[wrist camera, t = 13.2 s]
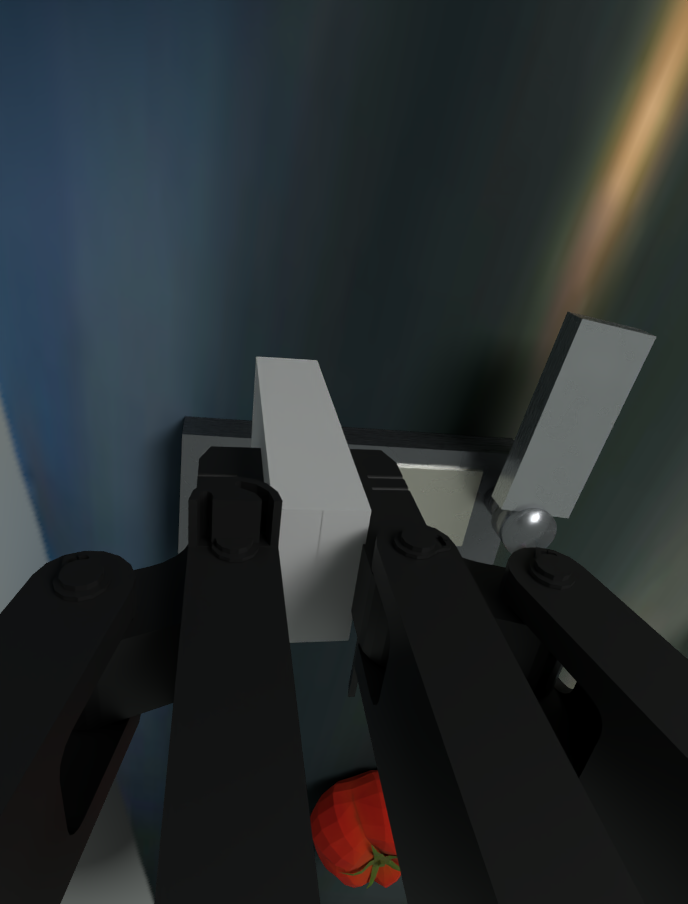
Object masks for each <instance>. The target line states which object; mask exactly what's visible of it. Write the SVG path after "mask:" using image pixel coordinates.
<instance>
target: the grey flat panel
mask: <svg viewBox="0 0 688 904" xmlns="http://www.w3.org/2000/svg"><path fill="white" fill-rule="evenodd" d="M655 338H656V336H654V335H652V334H649V333H647V332H645V331H643V330H640V329H637V328H633V327H629V326H625V325H621V324H617V323H613V322H609V321H605V320H601V319H596V318H592V317H588V316H584V315H580V314H576V313H572V312H567V315H566V317H565V319H564V322H563V324H562V327H561V329H560V331H559V334H558V336H557V339H556V341H555V344H554V346H553V348H552V351H551V353H550V356H549V358H548V361H547V363H546V365H545V368H544V370H543V373H542V375H541V377H540V380H539V382H538V385H537V387H536V390H535V392H534V394H533V397H532V399H531V402H530V404H529V407H528V409H527V411H526V414H525V416H524V419H523V421H522V423H521V426H520V428H519V431H518V433H517V436H516V438H515V440H514V443H513V445H512V448H511V450H510V453H509V455H508V457H507V460H506V462H505V465H504V467H503V469H502V472H501V474H500V477H499V479H498V482H497V484H496V486H495V489H494V491H493V494H492V497H493V499H494V500H495V501H496V503H497V504H498V505H497V507H496V508H495V510H494V512H493V514H492V518H491V524H492V528H493V529H494V531H495V532H496V534H497V535H498V537H499V538H500V540H501V541H502V543H503V544H504V545H505V547H506V548H507V550H508V551H509V552H510V553H511V554H512V553H513V552H514V551H517V550H519V549H522V548H528V547H540V548H545V549H546V548H547V547H548V546H549V545H550V544H551V542H552V541H553V539H554V537H555V535H556V530H557V526H556V522H555V520H554V518H553V517H552V516H555V517H563V518H569V516H570V514H571V512H572V510H573V508H574V505H575V503H576V501H577V499H578V497H579V495H580V493H581V491H582V489H583V487H584V485H585V483H586V481H587V479H588V477H589V475H590V472H591V470H592V468H593V466H594V464H595V462H596V460H597V458H598V456H599V454H600V452H601V450H602V448H603V446H604V444H605V442H606V440H607V437H608V435H609V433H610V431H611V429H612V427H613V425H614V423H615V421H616V419H617V417H618V415H619V413H620V411H621V409H622V407H623V404H624V402H625V400H626V398H627V396H628V394H629V392H630V390H631V388H632V386H633V384H634V382H635V380H636V378H637V376H638V374H639V371H640V369H641V367H642V365H643V363H644V361H645V359H646V357H647V355H648V353H649V351H650V349H651V347H652V345H653V343H654V341H655Z"/></svg>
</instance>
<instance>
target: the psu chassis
mask: <svg viewBox="0 0 688 904" xmlns="http://www.w3.org/2000/svg"><path fill="white" fill-rule="evenodd" d="M341 428H342V431H343V433H344V436H345V439H346V442H347V444H348V447H349V449H368V450H382V451H383V452H384V453H385V454H386V455H388V456H389V457H390V458H391V459H393V460H394V461H395V462H396V463H397V465H398V467H399V469H400V471H401V473H402V476H403V479H404V480H405V482H406V484H407V486H408V490H409V491H410V492H411V494H412V496H413V498H414V500H415V502H416V504H417V506H418V508H419V511H420V513H421V515H422V517H423V519H424V521H425V523H426V525H428V526H430V527H433V528H436V529H438V530H439V531H441V532H442V533H444V534H445V535H447V536H448V537H449V538H450V539H451V540H452V541H453V543H454V544H455V545H456V547H457V548H458V550H459V552H460V554H461V556H462V557H463V558H466V559H469V560H473V561H476V562H481V563H485V564H490V565H493V563H494V560H495V557H496V554H497V550H498V547H499V544H500V541H501V540H500V538H499V537H498V535H497V534H496V532H495V531H494V529H493V528H492V524H491V518H492V514H493V512H494V510H495V508H496V507H497V505H498V504H497V503H496V501H495V500H494V499H493V497H492V494H493V491H494V489H495V486H496V484H497V482H498V479H499V477H500V474H501V472H502V469H503V467H504V465H505V462H506V460H507V457H508V455H509V453H510V450H511V448H512V445H513V443H514V440H513V439H512V438H498V437H483V436H468V435H453V434H438V433H423V432H409V431H394V430H379V429H364V428H349V427H341ZM251 438H252V421H245V420H230V419H215V418H200V417H185V420H184V426H183V433H182V456H181V484H180V513H179V542H178V554H179V553H180V552H182V551H183V550H184V549H185V548H186V546H187V545H188V500H189V497H190V495H191V493H192V491H193V490H194V489H195V488H197V476H198V466H199V458H200V457H201V456H202V455H203V454H204V453H205V452H206V451H207V450H208V449H209V448H210V447H211V446H219V447H250V448H251Z"/></svg>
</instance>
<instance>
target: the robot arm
mask: <svg viewBox="0 0 688 904" xmlns="http://www.w3.org/2000/svg"><path fill="white" fill-rule="evenodd" d="M352 618H353V621H354V625H355V629H356V633H357V637H358V638H357V643H356V649H355V654H354V659H353V665H352V670H351V675H350V681H349V689H348V697H355V692H356V687H357V683H358V684H359V689H360V693H361V697H362V702H363V706H364V711H365V715H366V720H367V724H368V729H369V733H370V738H371V742H372V747H373V751H374V756H375V760H376V764H377V769H378V773H379V778H380V782H381V787H382V791H383V796H384V800H385V805H386V809H387V814H388V818H389V822H390V827H391V831H392V836H393V840H394V845H395V849H396V854H397V858H398V863H399V867H400V872H401V876H402V881H403V885H404V889H405V894H406V898H407V903H408V904H688V659H687V658H686V657H684V656H683V655H682V654H681V653H680V652H679V651H678V650H676V649H675V648H674V647H673V646H672V645H671V644H670V643H669V642H667V641H666V640H665V639H664V638H663V637H662V636H661V635H660V634H658V633H657V632H656V631H655V630H654V629H653V628H652V627H651V626H649V625H648V624H647V623H646V622H645V621H644V620H643V619H642V618H640V617H639V616H638V615H637V614H636V613H635V612H634V611H632V610H631V609H630V608H629V607H628V606H627V605H626V604H625V603H623V602H622V601H621V600H620V599H619V598H618V597H617V596H616V595H614V594H613V593H612V592H611V591H610V590H609V589H608V588H607V587H605V586H604V585H603V584H602V583H601V582H600V581H599V580H598V579H596V578H595V577H594V576H593V575H592V574H591V573H590V572H588V571H587V570H586V569H585V568H584V567H583V566H581V565H580V564H579V563H577V562H576V561H574V560H573V559H571V558H570V557H568V556H566V555H563V554H561V553H559V552H557V551H554V550H550V549H545V548H540V547H528V548H522V549H519V550H517V551H514V552H513V553H512V555H511V556H510V558H509V559H508V562H507V565H506V568H504V567H500V566H495V565H490V564H485V563H481V562H476V561H473V560H469V559H466V558H463V557H462V556H461V554H460V552H459V550H458V548H457V547H456V545H455V544H454V543H453V541H452V540H451V539H450V538H449V537H448V536H447V535H445V534H444V533H442V532H441V531H439V530H438V529H436V528H433V527H430V526H428V525H426V523H425V521H424V519H423V517H422V515H421V513H420V511H419V508H418V506H417V504H416V502H415V500H414V498H413V496H412V494H411V492H410V491H409V490H408V486H407V484H406V482H405V480H404V479H403V476H402V473H401V471H400V469H399V467H398V465H397V463H396V462H395V461H394V460H393V459H391V458H390V457H389V456H388V455H386V454H385V453H384V452H383V451H382V450H368V449H349V447H348V444H347V442H346V439H345V436H344V433H343V431H342V428H341V425H340V422H339V420H338V417H337V414H336V411H335V408H334V406H333V403H332V400H331V397H330V395H329V392H328V389H327V386H326V384H325V381H324V378H323V375H322V373H321V370H320V367H319V364H318V362H317V360H303V359H287V358H271V357H256V369H255V386H254V404H253V421H252V438H251V448H250V447H219V446H211V447H210V448H209V449H208V450H207V451H206V452H205V453H204V454H203V455H202V456H201V457H200V458H199V466H198V476H197V488H195V489H194V490H193V491H192V493H191V495H190V497H189V500H188V545H187V546H186V548H185V549H184V550H183V551H182V552H180V553H179V554H178V555H177V556H175V557H173V558H171V559H169V560H167V561H165V562H163V563H160V564H157V565H153V566H150V567H146V568H141V569H137V570H133V569H132V566H131V564H129V563H128V562H127V561H126V560H124V559H123V558H122V557H120V556H118V555H114V554H111V553H107V552H104V551H82V552H77V553H72V554H67V555H64V556H61V557H59V558H57V559H55V560H53V561H50V562H48V563H46V564H45V565H44V566H43V567H42V568H40V569H39V570H38V571H37V572H35V573H34V574H33V575H32V576H31V577H30V579H29V580H28V581H27V582H26V584H25V585H24V586H23V587H22V588H21V590H20V591H19V592H18V593H17V594H16V596H15V597H14V598H13V599H12V600H11V602H10V603H9V604H8V605H7V606H6V608H5V609H4V610H3V611H2V612H1V614H0V904H60V903H61V901H62V899H63V896H64V894H65V892H66V889H67V887H68V885H69V882H70V880H71V878H72V876H73V873H74V871H75V869H76V866H77V864H78V862H79V859H80V857H81V855H82V852H83V850H84V848H85V846H86V843H87V841H88V839H89V836H90V834H91V832H92V829H93V827H94V825H95V822H96V820H97V818H98V816H99V813H100V811H101V809H102V806H103V804H104V802H105V800H106V797H107V795H108V792H109V790H110V788H111V786H112V783H113V781H114V779H115V777H116V774H117V772H118V770H119V767H120V765H121V763H122V760H123V758H124V756H125V753H126V751H127V749H128V747H129V744H130V742H131V740H132V737H133V735H134V733H135V730H136V728H137V726H138V724H139V720H140V715H141V713H144V712H147V711H150V710H153V709H156V708H159V707H162V706H165V705H168V704H171V703H173V713H172V724H171V734H170V745H169V755H168V766H167V777H166V787H165V798H164V808H163V819H162V829H161V840H160V851H159V861H158V872H157V882H156V893H155V903H154V904H320V898H319V889H318V880H317V872H316V863H315V855H314V846H313V838H312V829H311V821H310V812H309V804H308V795H307V787H306V778H305V769H304V761H303V752H302V744H301V735H300V727H299V718H298V710H297V701H296V693H295V684H294V676H293V667H292V659H291V650H290V643H292V642H319V641H347V640H349V635H350V629H351V623H352ZM562 667H564V668H565V669H566V670H567V671H568V672H569V673H570V674H571V676H572V677H573V678H574V679H575V680H576V681H577V682H576V685H575V687H574V689H570V688H568V687H567V686H566V685H565V684H564V683H563V682H562V681H561V680H560V679H559V678H558V677H559V674H560V672H561V670H562Z"/></svg>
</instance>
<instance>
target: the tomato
mask: <svg viewBox="0 0 688 904" xmlns="http://www.w3.org/2000/svg"><path fill="white" fill-rule="evenodd" d="M310 821H311V829H312V838H313V841H314V845H315V848H316V851H317V853H318V855H319V858H320V860H321V861H322V863H323V864H324V866H325V867H326V869H327V870H329V871H330V872H331V873H332V874H334V875H335V876H336V877H337V878H338V879H339V880H341V881H342V882H343V883H344V884H345V885H348V886H351V887H354V888H355V887H359V886H362V885H364V884H366V883H368V882H369V885H368V886H367V888H368V887H370V886H371V885H372V884H373V882H374V881H375V882H377V883H379V884H380V885H382V886H384V887H386V888H387V887H388V886H390V885H391V884H393V883H394V882H396V881H397V880H398V879H399V877H400V876H401V872H400V867H399V863H398V858H397V854H396V849H395V845H394V840H393V836H392V831H391V827H390V822H389V818H388V814H387V809H386V805H385V800H384V796H383V791H382V787H381V782H380V778H379V773H378V770H370V771H367V772H365V773H363V774H360V775H356V776H353V777H350V778H347V779H344V780H340V781H338V782H337V783H335V784H334V785H333V786H332V787H330V788H329V789H328V790H327V791H326V792H324V793H323V794H322V795H321V797H320V799H319V800H318V802H317V804H316V805H315V807H314V809H313V811H312V814H311V816H310Z"/></svg>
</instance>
